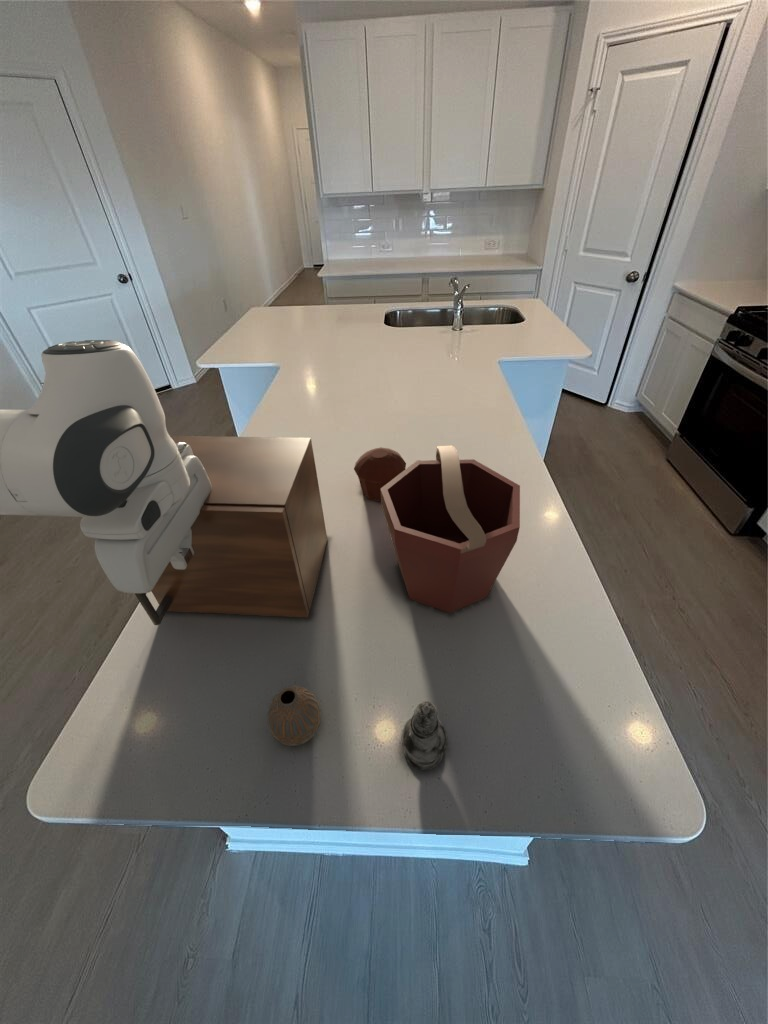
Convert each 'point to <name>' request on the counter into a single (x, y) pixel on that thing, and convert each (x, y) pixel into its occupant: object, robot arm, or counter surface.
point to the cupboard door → (234, 567)
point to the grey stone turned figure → (424, 737)
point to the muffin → (378, 470)
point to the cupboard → (269, 487)
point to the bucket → (451, 528)
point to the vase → (294, 716)
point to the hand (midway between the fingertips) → (184, 561)
